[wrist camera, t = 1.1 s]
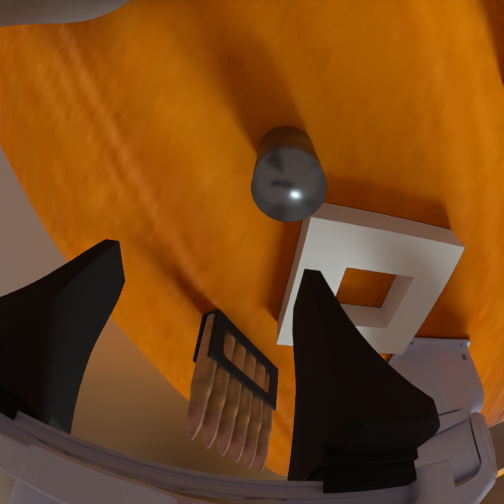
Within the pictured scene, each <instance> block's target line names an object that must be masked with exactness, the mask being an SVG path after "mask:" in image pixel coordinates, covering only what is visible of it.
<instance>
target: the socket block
mask: <svg viewBox="0 0 504 504" xmlns="http://www.w3.org/2000/svg"><path fill="white" fill-rule="evenodd" d="M464 249H465V247H464V245H463V244H462V243H461V241H460V240H459V239H458V238H457V236H456V235H455V234H454V232H453V231H452V230H450V229H445V228H441V227H437V226H433V225H429V224H425V223H420V222H416V221H412V220H407V219H403V218H398V217H393V216H389V215H384V214H379V213H375V212H370V211H365V210H360V209H355V208H350V207H344V206H339V205H334V204H328V203H322V205H321V206H320V208H319V209H318V210H317V211H316V212H315V213H314V214H312V215H311V216H309V217H308V218H306V219H303V223H302V227H301V232H300V236H299V240H298V244H297V248H296V252H295V256H294V260H293V264H292V268H291V272H290V276H289V280H288V283H287V287H286V291H285V295H284V299H283V303H282V306H281V310H280V314H279V317H278V321H277V343H276V344H281V345H289V346H293V336H292V323H293V307H294V304H295V300H296V297H297V293H298V290H299V286H300V282H301V279H302V275H303V272H304V268H305V269H312V270H319V271H321V273H322V274H323V276H324V278H325V279H326V281H327V283H328V285H329V286H330V288H331V290H332V291H333V293H334V295H335V296H336V293H337V291H338V288H339V286H340V283H341V280H342V278H343V275H344V272H345V270H346V267H348V268H355V269H362V270H368V271H375V272H382V273H389V274H395V275H396V277H395V279H394V281H393V283H392V286H391V288H390V290H389V292H388V294H387V296H386V298H385V300H384V302H383V304H382V306H381V308H376V307H367V306H359V305H350V304H342V303H340V304H341V306H342V308H343V309H344V311H345V312H346V314H347V315H348V317H349V318H350V320H351V321H352V322H353V324H354V325H355V327H356V328H357V329H358V331H359V332H360V333H361V334H362V336H363V337H364V338H365V339H366V340H367V341H368V343H369V344H370V345H371V346H372V347H373V348H374V349H375V350H376V352H377V353H388V354H403V352H404V351H405V349H406V348H407V346H408V345H409V343H410V342H411V341H412V339H413V338H414V336H415V335H416V333H417V331H418V330H419V328H420V327H421V325H422V324H423V322H424V321H425V319H426V317H427V316H428V314H429V313H430V311H431V309H432V308H433V306H434V304H435V303H436V301H437V299H438V297H439V296H440V294H441V292H442V291H443V289H444V287H445V285H446V283H447V282H448V280H449V278H450V276H451V274H452V272H453V271H454V269H455V267H456V265H457V263H458V261H459V259H460V257H461V255H462V253H463V251H464Z"/></svg>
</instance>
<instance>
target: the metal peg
mask: <svg viewBox="0 0 504 504" xmlns="http://www.w3.org/2000/svg"><path fill="white" fill-rule="evenodd" d="M251 192H252V196H253V199H254V201H255V203H256V205H257V206H258V208H259V209H260V210H261V211H262V212H263V213H264V214H266V215H267V216H269V217H271V218H273V219H275V220H278V221H283V222H295V221H300V220H303V219H306V218H308V217H309V216H311V215H312V214H314V213H315V212H316V211H317V210H318V209H319V208H320V206H321V205H322V203H323V201H324V199H325V196H326V192H327V183H326V179H325V175H324V173H323V170H322V167H321V165H320V162H319V160H318V157H317V154H316V152H315V149H314V147H313V144H312V142H311V140H310V138H309V137H308V136H307V135H306V134H305V133H304V132H303V131H301V130H299V129H297V128H295V127H290V126H282V127H278V128H275V129H273V130H271V131H269V132H268V133H267V134H266V135H265V136H264V137H263V139H262V141H261V143H260V146H259V151H258V155H257V160H256V164H255V169H254V173H253V178H252V183H251Z"/></svg>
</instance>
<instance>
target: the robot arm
mask: <svg viewBox="0 0 504 504" xmlns="http://www.w3.org/2000/svg"><path fill="white" fill-rule="evenodd" d="M124 283H125V277H124V271H123V264H122V257H121V250H120V243H119V241H115V240H109V239H105V240H103V241H102V242H100V243H98V244H96V245H95V246H93V247H91V248H90V249H88V250H87V251H85V252H84V253H82V254H80V255H79V256H77V257H76V258H74V259H73V260H71V261H70V262H68V263H66V264H65V265H63V266H61V267H60V268H58V269H56V270H55V271H53V272H51V273H50V274H48V275H47V276H45V277H43V278H41V279H39V280H37V281H35V282H33V283H31V284H29V285H27V286H25V287H23V288H21V289H19V290H17V291H14V292H11V293H9V294H7V295H4V296H2V297H0V470H2V471H4V472H5V473H7V474H8V475H10V476H11V477H13V478H15V479H16V481H15V484H14V487H13V490H12V493H11V496H10V500H9V503H8V504H217V503H212V502H207V501H202V500H198V499H194V498H189V497H185V496H181V495H177V494H173V493H169V492H166V491H163V490H160V489H158V488H155V487H153V486H149V485H147V484H143V483H140V482H137V481H141V482H145V483H148V484H152V485H156V486H160V487H164V488H168V489H173V490H178V491H183V492H188V493H193V494H199V495H204V496H211V497H218V498H225V499H233V500H234V501H232V504H479V503H480V501H481V500H482V499H483V498H484V496H485V495H486V494H487V493H488V491H489V490H490V489H491V488H492V486H493V485H494V483H495V481H496V476H497V474H498V471H497V466H496V462H495V460H496V459H495V458H496V457H495V451H494V447H493V443H492V439H491V436H490V432H489V429H488V426H487V423H486V421H485V418H484V416H483V415H482V414H480V411H481V409H482V406H483V399H484V392H483V387H482V384H481V381H480V378H479V376H478V373H477V371H476V368H475V366H474V363H473V361H472V358H471V356H470V353H469V351H468V349H467V348H468V347H469V345H470V344H471V342H470V340H469V339H437V338H416V337H414V338H413V339H412V341H411V342H410V343H409V345H408V346H407V348H406V349H405V351H404V352H403V354H394V355H393V356H392V357H391V359H390V360H389V362H388V363H387V362H386V361H385V360H384V359H383V358H382V357H381V356H380V355H379V354H378V353H377V352H376V350H375V349H374V348H373V347H372V346H371V345H370V344H369V343H368V341H367V340H366V339H365V338H364V337H363V336H362V334H361V333H360V332H359V331H358V329H357V328H356V327H355V325H354V324H353V322H352V321H351V320H350V318H349V317H348V315H347V314H346V312H345V311H344V309H343V308H342V306H341V304H340V303H339V301H338V300H337V298H336V297H335V295H334V293H333V291H332V290H331V288H330V286H329V285H328V283H327V281H326V279H325V278H324V276H323V274H322V273H321V271H319V270H312V269H305V268H304V272H303V275H302V279H301V282H300V286H299V290H298V293H297V297H296V300H295V304H294V307H293V323H292V336H293V350H294V363H295V377H296V397H295V414H294V428H293V439H292V448H291V457H290V465H289V472H288V479H287V481H280V480H265V479H253V478H243V477H234V476H226V475H219V474H212V473H206V472H200V471H194V470H189V469H184V468H179V467H174V466H170V465H165V464H161V463H157V462H153V461H149V460H145V459H141V458H138V457H134V456H130V455H127V454H124V453H121V452H118V451H114V450H111V449H108V448H105V447H102V446H99V445H96V444H94V443H91V442H88V441H86V440H83V439H80V438H78V437H75V436H73V435H70V434H71V426H72V421H73V415H74V409H75V405H76V400H77V396H78V392H79V388H80V385H81V382H82V378H83V375H84V372H85V368H86V366H87V363H88V360H89V357H90V354H91V352H92V349H93V347H94V345H95V343H96V341H97V339H98V337H99V335H100V333H101V331H102V330H103V328H104V326H105V324H106V322H107V320H108V318H109V316H110V315H111V313H112V311H113V309H114V307H115V305H116V303H117V301H118V299H119V296H120V294H121V291H122V288H123V286H124ZM59 452H60V453H59ZM61 453H62V454H61ZM63 454H64V455H63ZM65 455H66V456H65ZM67 456H69V457H71V458H69V457H67ZM72 458H74V459H76V460H74V459H72ZM77 460H79V461H81V462H79V461H77ZM82 462H84V463H86V464H84V463H82ZM87 464H89V465H91V466H89V465H87ZM92 466H94V467H92ZM95 467H97V468H100V469H102V470H100V469H97V468H95ZM103 470H105V471H103ZM106 471H108V472H106ZM109 472H111V473H109ZM112 473H114V474H112ZM115 474H118V475H120V476H118V475H115ZM476 474H477V475H476ZM474 475H476V476H475V477H474V478H473V479H472V480H470V481H469V482H467V483H465V484H463V485H460V486H458V487H455V483H458V482H460V481H462V480H465V479H467V478H469V477H471V476H474ZM121 476H124V477H127V478H124V477H121ZM128 478H130V479H128ZM131 479H134V480H137V481H134V480H131Z"/></svg>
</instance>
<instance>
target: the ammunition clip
mask: <svg viewBox="0 0 504 504" xmlns="http://www.w3.org/2000/svg"><path fill="white" fill-rule="evenodd" d="M193 361H194V362H195V363H196V365H195V369H194V373H193V378H192V382H191V396H190V402H189V409H188V415H187V433H188V438H189V440H193V439H194V437H195V436H196V435H197V433H198V431H199V429H200V426H201V424H202V421H203V418H204V423H203V441H204V446H205V448H206V449H208V448H210V446H211V445H212V443H213V441H214V439H215V437H216V434H217V430H218V436H217V442H218V450H219V454H220V456H224V454H225V453H226V452H227V449H228V447H229V444H230V442H231V454H232V458H233V461H234V463H237V462H238V460H239V459H240V456H241V454H242V451H243V456H244V462H245V466H246V468H247V469H249V468H250V467H251V465H252V463H253V460H254V458H255V465H256V469H257V472H258V473H259V474H260V473H261V472H262V471H263V468H264V466H265V463H266V459H267V454H268V446H269V438H270V435H271V430H272V414H273V410H276V400H277V384H278V369H277V368H276V367H275V366H274V365H273V364H272V363H271V362H270V361H269V360H268V359H267V358H266V357H265V356H264V355H263V354H262V353H261V352H260V351H259V350H258V349H257V348H256V347H255V346H254V345H253V344H252V343H251V342H250V341H249V340H248V339H247V338H246V337H245V336H244V335H243V334H242V333H241V332H240V331H239V329H238V328H237V327H236V326H235V325H234V324H233V323H232V322H231V321H230V320H229V319H228V318H227V317H226V316H225V315H224V314H223V313H222V312H221V311H220V310H215V311H212V312H210V313H207V314H205V315H203V316H202V321H201V325H200V330H199V335H198V340H197V344H196V348H195V353H194V358H193ZM204 415H205V416H204Z"/></svg>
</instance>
